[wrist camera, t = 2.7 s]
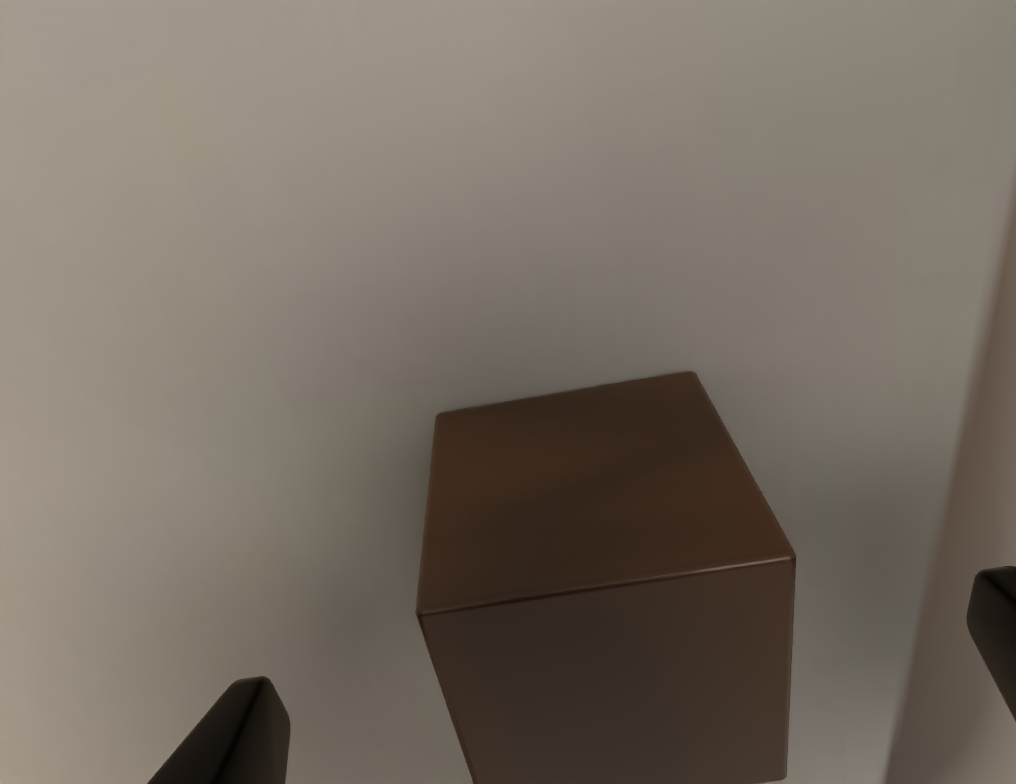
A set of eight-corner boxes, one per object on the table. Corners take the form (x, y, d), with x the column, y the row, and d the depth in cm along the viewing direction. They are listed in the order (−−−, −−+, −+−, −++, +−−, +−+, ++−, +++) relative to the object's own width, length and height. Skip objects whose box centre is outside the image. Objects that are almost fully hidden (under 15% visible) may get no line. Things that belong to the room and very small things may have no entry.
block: (695, 367, 11) (801, 555, 7) (704, 562, 13) (789, 782, 9) (434, 411, 11) (411, 613, 7) (483, 596, 13) (484, 823, 9)
